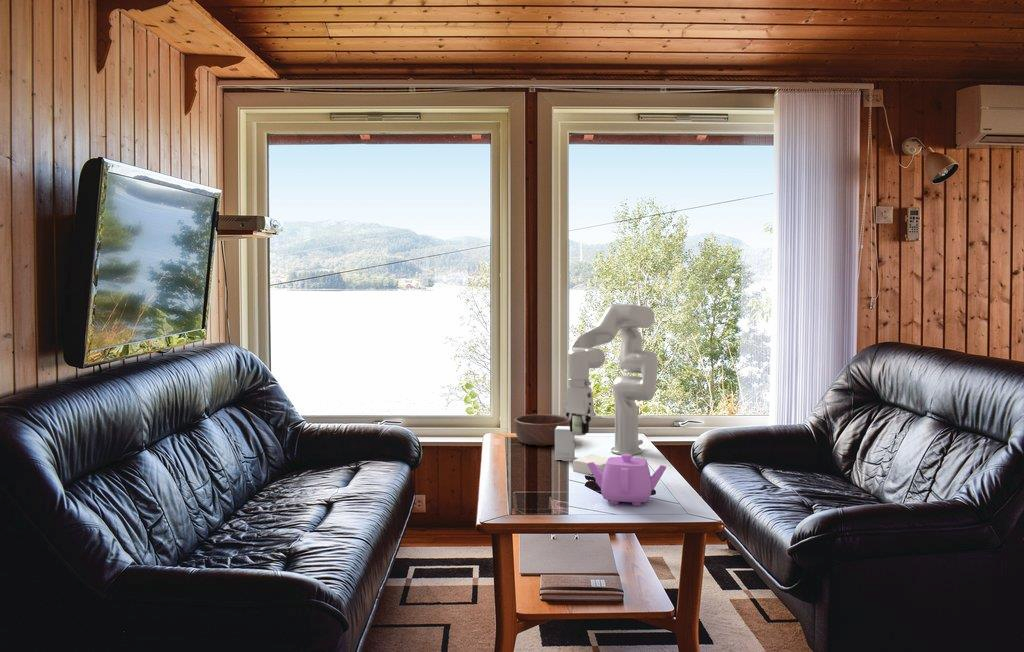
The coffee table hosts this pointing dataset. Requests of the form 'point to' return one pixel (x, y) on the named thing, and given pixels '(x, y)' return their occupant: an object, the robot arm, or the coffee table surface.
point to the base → (582, 463)
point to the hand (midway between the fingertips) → (579, 431)
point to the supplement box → (564, 444)
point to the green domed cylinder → (577, 425)
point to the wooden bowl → (538, 428)
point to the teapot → (626, 479)
